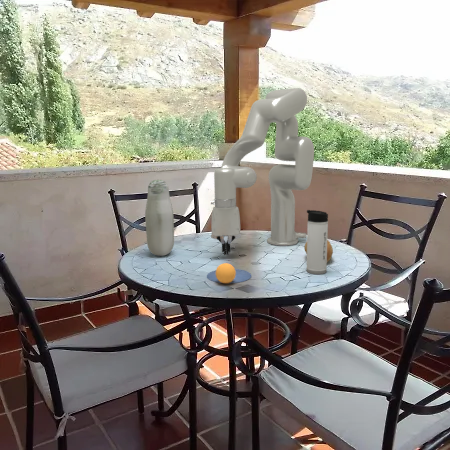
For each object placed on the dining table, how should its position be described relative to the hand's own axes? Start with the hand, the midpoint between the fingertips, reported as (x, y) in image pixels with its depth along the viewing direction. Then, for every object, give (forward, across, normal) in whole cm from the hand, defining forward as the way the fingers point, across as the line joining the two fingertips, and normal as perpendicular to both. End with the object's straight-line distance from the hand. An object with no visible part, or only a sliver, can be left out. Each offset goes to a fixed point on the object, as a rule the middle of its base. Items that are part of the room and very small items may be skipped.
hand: (226, 253), depth 159 cm
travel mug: (+2, +28, -19) cm, 34 cm away
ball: (-2, -1, -28) cm, 28 cm away
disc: (+2, 0, -21) cm, 21 cm away
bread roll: (+2, +32, -5) cm, 33 cm away
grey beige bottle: (+2, -24, +6) cm, 25 cm away
